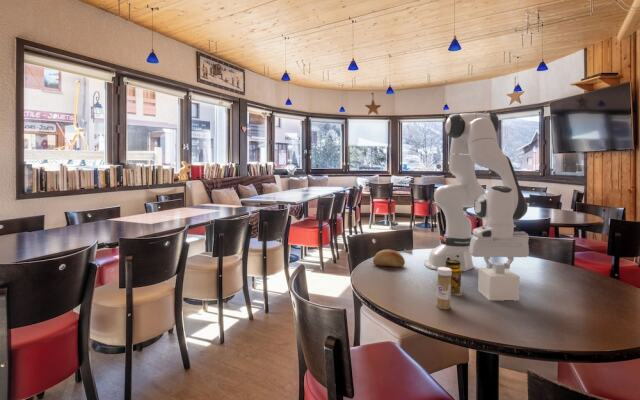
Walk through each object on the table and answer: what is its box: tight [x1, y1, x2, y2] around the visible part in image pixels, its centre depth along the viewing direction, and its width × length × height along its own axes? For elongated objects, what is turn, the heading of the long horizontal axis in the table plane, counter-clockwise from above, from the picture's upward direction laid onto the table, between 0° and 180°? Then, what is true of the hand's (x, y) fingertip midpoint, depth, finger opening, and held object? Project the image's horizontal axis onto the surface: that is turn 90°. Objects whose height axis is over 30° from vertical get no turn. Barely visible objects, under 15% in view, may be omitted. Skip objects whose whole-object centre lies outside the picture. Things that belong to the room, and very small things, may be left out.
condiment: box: [445, 260, 463, 296], centre depth 140 cm, size 7×8×12 cm
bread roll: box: [372, 249, 406, 268], centre depth 176 cm, size 10×15×8 cm, turn 72°
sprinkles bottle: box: [436, 267, 452, 310], centre depth 124 cm, size 5×5×13 cm
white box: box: [477, 262, 521, 302], centre depth 135 cm, size 10×10×12 cm
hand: (498, 268), depth 135 cm, fingers open, 5 cm apart
